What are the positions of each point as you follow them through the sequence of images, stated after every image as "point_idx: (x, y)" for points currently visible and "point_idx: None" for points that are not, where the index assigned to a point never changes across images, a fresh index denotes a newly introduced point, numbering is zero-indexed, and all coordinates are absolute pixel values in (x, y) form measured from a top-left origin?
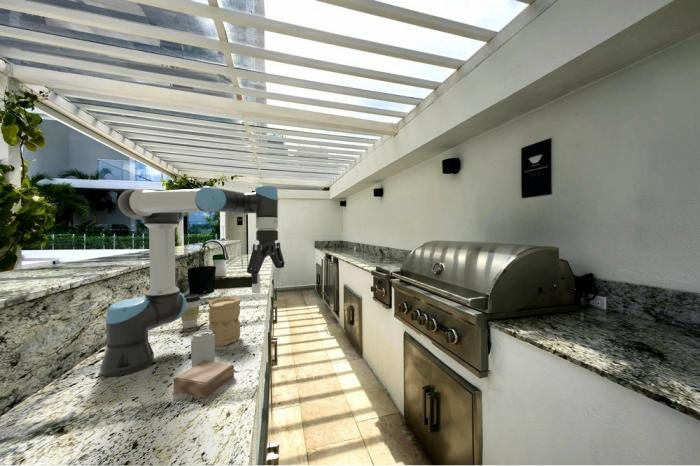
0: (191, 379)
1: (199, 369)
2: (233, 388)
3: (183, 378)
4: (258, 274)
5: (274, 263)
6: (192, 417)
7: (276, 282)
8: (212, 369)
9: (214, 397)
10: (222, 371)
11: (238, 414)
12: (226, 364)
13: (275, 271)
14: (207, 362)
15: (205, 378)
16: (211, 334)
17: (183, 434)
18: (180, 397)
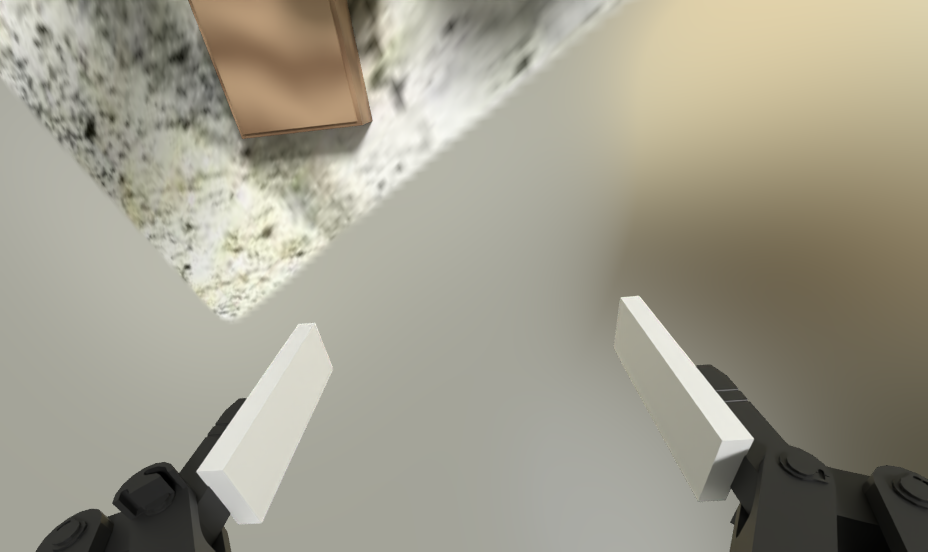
0: (220, 67)
1: (268, 26)
2: (332, 168)
3: (203, 28)
4: (238, 516)
5: (747, 540)
6: (208, 168)
7: (628, 333)
8: (297, 79)
9: (279, 152)
10: (311, 126)
11: (279, 251)
12: (346, 100)
13: (687, 416)
14: (316, 3)
15: (253, 110)
16: None
17: (176, 197)
18: None
